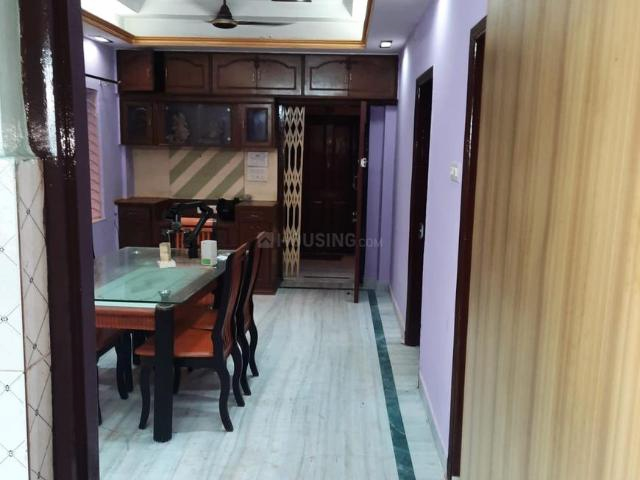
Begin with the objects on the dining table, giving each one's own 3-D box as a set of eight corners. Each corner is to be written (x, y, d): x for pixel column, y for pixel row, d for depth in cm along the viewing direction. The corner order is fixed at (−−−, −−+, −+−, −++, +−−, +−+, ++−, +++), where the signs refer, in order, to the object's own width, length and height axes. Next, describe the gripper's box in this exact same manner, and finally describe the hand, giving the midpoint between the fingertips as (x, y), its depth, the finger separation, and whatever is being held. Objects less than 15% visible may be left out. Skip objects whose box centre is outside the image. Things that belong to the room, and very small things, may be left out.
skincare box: (201, 264, 360) (200, 241, 358) (208, 262, 366) (206, 239, 363) (211, 265, 356) (210, 242, 354) (218, 263, 362) (216, 240, 360)
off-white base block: (172, 263, 367) (172, 259, 366) (175, 266, 358) (175, 261, 357) (157, 265, 362) (156, 261, 362) (159, 268, 354) (159, 263, 353)
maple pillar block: (164, 260, 362) (162, 242, 360) (171, 260, 362) (169, 242, 360) (160, 262, 358) (159, 244, 356) (168, 262, 357) (166, 243, 355)
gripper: (160, 218, 363) (159, 241, 360) (189, 218, 366) (189, 241, 363) (163, 222, 374) (162, 245, 371) (191, 222, 376) (191, 244, 374)
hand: (176, 244), depth 369 cm, fingers open, 9 cm apart
